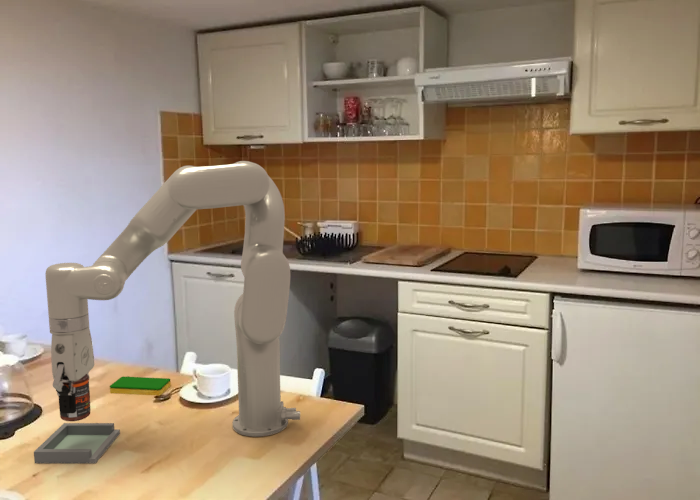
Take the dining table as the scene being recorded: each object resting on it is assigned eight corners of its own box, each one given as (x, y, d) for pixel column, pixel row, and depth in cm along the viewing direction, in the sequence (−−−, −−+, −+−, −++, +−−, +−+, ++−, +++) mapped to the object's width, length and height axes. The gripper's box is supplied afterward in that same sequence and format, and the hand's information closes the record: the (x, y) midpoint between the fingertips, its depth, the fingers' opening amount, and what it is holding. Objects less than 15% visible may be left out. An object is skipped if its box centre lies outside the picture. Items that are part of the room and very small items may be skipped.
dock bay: (120, 433, 142) (119, 423, 141) (95, 463, 128) (94, 451, 128) (64, 433, 142) (63, 423, 141) (34, 463, 128) (33, 451, 128)
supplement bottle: (79, 423, 130) (76, 371, 128) (54, 421, 132) (49, 369, 130) (96, 412, 136) (93, 361, 134) (72, 409, 137) (68, 359, 135)
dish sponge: (122, 384, 172) (122, 376, 172) (171, 386, 170) (170, 378, 170) (109, 394, 165) (108, 386, 165) (160, 397, 163) (159, 388, 163)
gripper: (68, 335, 122) (75, 423, 125) (104, 312, 139) (108, 390, 142) (29, 335, 122) (37, 423, 125) (69, 312, 139) (75, 390, 142)
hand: (75, 405), depth 133 cm, fingers closed on supplement bottle, 6 cm apart
